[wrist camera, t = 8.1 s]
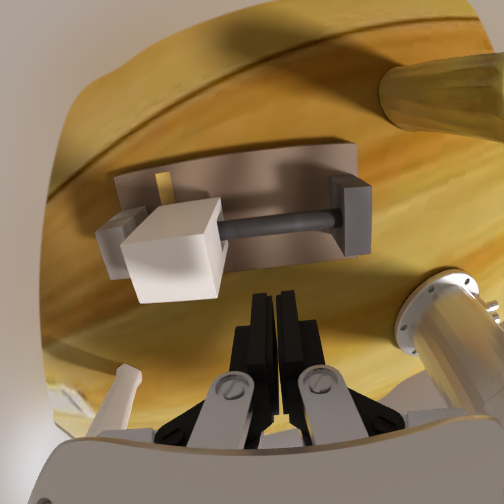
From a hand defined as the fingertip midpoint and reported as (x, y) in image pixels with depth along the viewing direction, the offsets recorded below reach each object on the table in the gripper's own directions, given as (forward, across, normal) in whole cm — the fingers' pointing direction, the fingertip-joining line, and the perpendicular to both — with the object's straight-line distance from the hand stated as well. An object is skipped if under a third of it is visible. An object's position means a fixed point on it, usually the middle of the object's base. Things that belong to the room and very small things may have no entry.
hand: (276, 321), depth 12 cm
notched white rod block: (+12, +6, -1) cm, 13 cm away
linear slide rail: (+14, +3, -1) cm, 15 cm away
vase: (+15, -13, -10) cm, 22 cm away
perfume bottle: (+14, +21, +19) cm, 32 cm away
